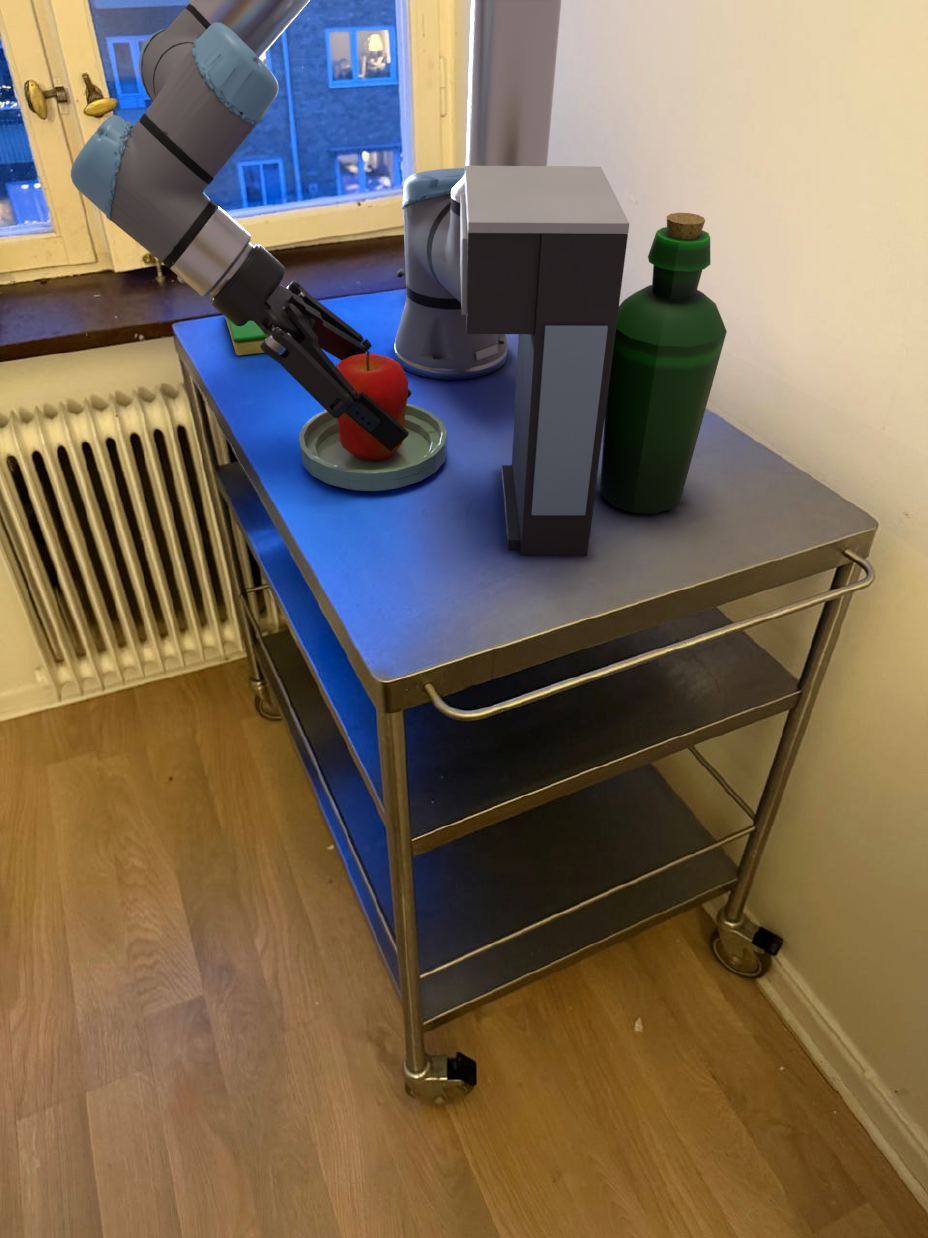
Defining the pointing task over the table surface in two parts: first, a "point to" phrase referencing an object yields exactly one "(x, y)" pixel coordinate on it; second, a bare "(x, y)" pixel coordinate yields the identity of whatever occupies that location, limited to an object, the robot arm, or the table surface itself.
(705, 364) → the bottle
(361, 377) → the apple
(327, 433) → the dish
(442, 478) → the table surface
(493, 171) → the coffee maker
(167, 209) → the robot arm
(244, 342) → the dish sponge
